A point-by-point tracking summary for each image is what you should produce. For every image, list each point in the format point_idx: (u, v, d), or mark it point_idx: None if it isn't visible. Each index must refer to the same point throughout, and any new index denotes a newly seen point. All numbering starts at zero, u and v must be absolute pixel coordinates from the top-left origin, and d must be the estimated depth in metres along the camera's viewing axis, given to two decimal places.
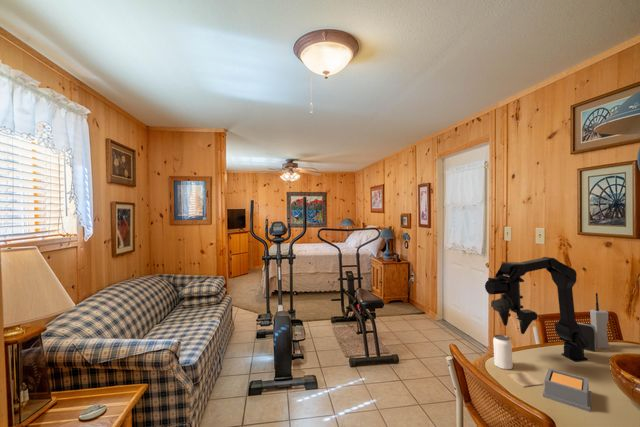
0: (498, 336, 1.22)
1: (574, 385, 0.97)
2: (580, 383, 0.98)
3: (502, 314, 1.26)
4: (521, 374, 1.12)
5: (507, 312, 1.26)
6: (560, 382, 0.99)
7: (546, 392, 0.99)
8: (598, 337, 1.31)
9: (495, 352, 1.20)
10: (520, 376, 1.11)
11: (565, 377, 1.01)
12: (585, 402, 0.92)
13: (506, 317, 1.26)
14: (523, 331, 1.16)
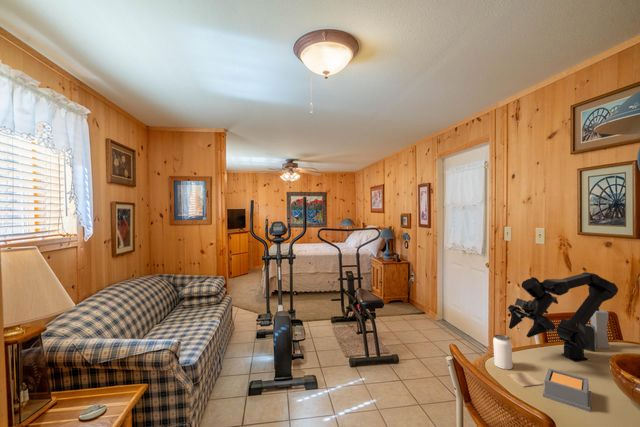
0: (498, 336, 1.22)
1: (574, 385, 0.97)
2: (580, 383, 0.98)
3: (514, 318, 1.26)
4: (521, 374, 1.12)
5: (519, 320, 1.27)
6: (560, 382, 0.99)
7: (546, 392, 0.99)
8: (598, 337, 1.31)
9: (495, 352, 1.20)
10: (520, 376, 1.11)
11: (565, 377, 1.01)
12: (585, 402, 0.92)
13: (515, 323, 1.26)
14: (530, 334, 1.16)
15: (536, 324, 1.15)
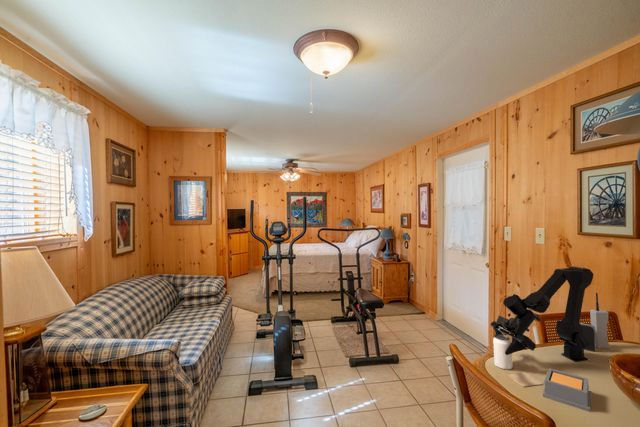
0: (498, 336, 1.22)
1: (574, 385, 0.97)
2: (580, 383, 0.98)
3: None
4: (521, 374, 1.12)
5: None
6: (560, 382, 0.99)
7: (546, 392, 0.99)
8: (598, 337, 1.31)
9: (495, 352, 1.20)
10: (520, 376, 1.11)
11: (565, 377, 1.01)
12: (585, 402, 0.92)
13: None
14: (508, 352, 1.16)
15: (514, 342, 1.15)
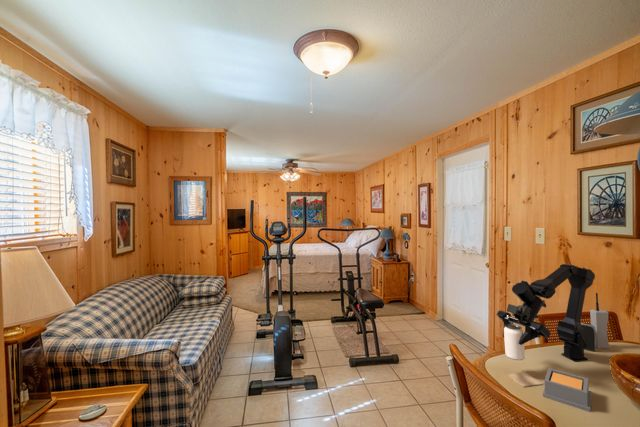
0: (508, 326, 1.16)
1: (574, 385, 0.97)
2: (580, 383, 0.98)
3: None
4: (521, 374, 1.12)
5: None
6: (560, 382, 0.99)
7: (546, 392, 0.99)
8: (598, 337, 1.31)
9: (507, 343, 1.13)
10: (520, 376, 1.11)
11: (565, 377, 1.01)
12: (585, 402, 0.92)
13: None
14: (522, 342, 1.10)
15: (528, 330, 1.10)
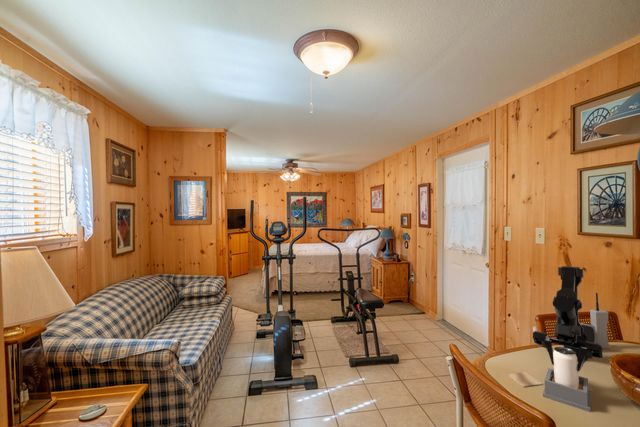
0: (558, 350, 1.01)
1: None
2: (580, 387, 0.98)
3: (551, 349, 1.03)
4: (521, 374, 1.12)
5: (552, 350, 1.05)
6: None
7: (546, 392, 0.99)
8: (598, 337, 1.31)
9: (564, 371, 0.97)
10: (520, 376, 1.11)
11: None
12: (585, 402, 0.92)
13: None
14: (580, 367, 0.96)
15: (585, 353, 0.97)
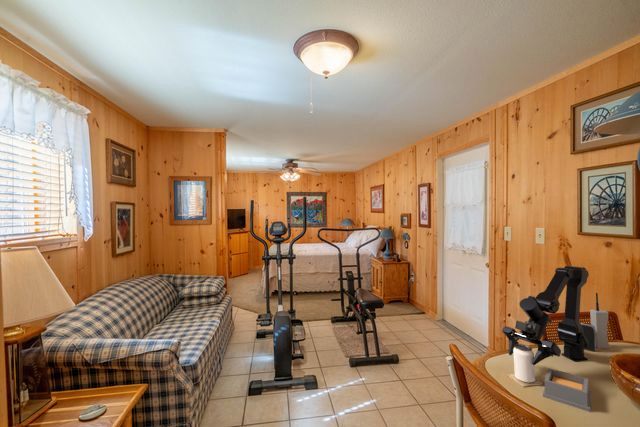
0: (518, 346, 1.11)
1: None
2: (580, 387, 0.98)
3: (512, 342, 1.14)
4: None
5: None
6: None
7: (546, 392, 0.99)
8: (598, 337, 1.31)
9: (518, 365, 1.08)
10: None
11: (565, 381, 1.01)
12: (585, 402, 0.92)
13: None
14: (535, 362, 1.05)
15: (541, 349, 1.05)
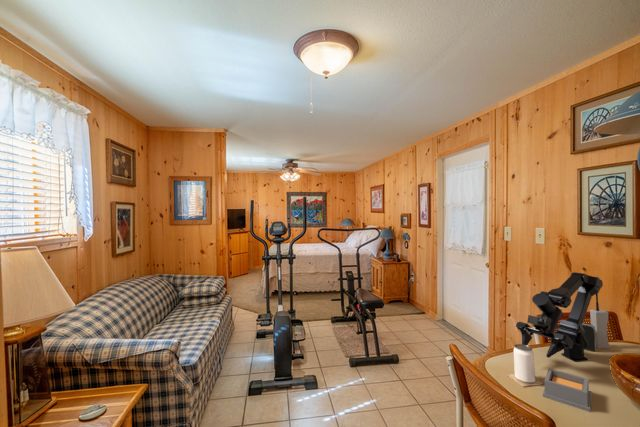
0: (518, 346, 1.11)
1: None
2: (580, 387, 0.98)
3: (525, 336, 1.19)
4: None
5: (529, 338, 1.20)
6: None
7: (546, 392, 0.99)
8: (598, 337, 1.31)
9: (518, 365, 1.08)
10: None
11: (565, 381, 1.01)
12: (585, 402, 0.92)
13: (527, 341, 1.19)
14: (549, 354, 1.09)
15: (555, 342, 1.09)
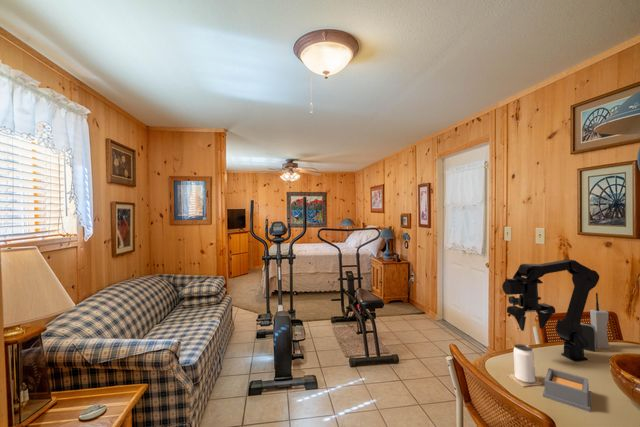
0: (518, 346, 1.11)
1: None
2: (580, 387, 0.98)
3: (539, 316, 1.26)
4: None
5: (544, 317, 1.23)
6: None
7: (546, 392, 0.99)
8: (598, 337, 1.31)
9: (518, 365, 1.08)
10: None
11: (565, 381, 1.01)
12: (585, 402, 0.92)
13: (542, 321, 1.24)
14: (520, 327, 1.24)
15: None
